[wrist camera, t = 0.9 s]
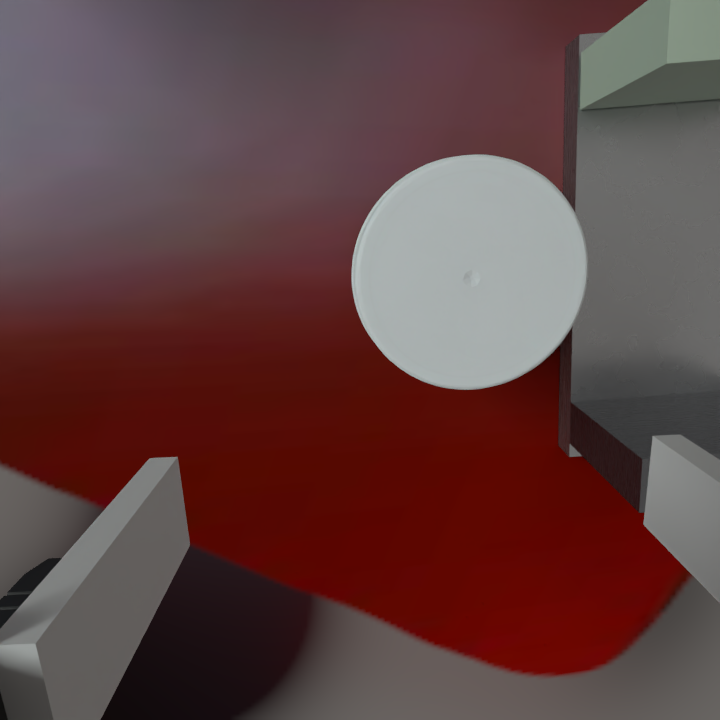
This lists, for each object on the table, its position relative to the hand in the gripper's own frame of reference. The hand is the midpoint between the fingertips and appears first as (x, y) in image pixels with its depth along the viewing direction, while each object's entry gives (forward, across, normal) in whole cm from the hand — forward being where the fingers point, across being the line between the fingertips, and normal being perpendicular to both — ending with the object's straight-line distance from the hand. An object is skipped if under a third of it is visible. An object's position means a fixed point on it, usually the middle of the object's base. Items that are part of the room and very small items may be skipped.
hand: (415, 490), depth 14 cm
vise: (+22, +18, +4) cm, 29 cm away
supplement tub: (+22, +3, +5) cm, 23 cm away
